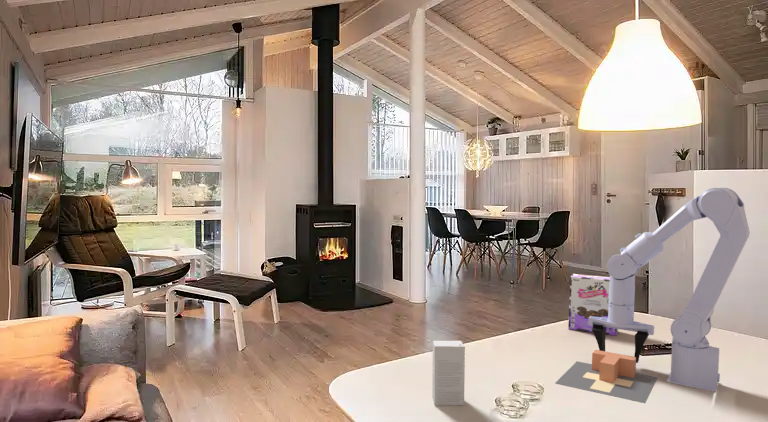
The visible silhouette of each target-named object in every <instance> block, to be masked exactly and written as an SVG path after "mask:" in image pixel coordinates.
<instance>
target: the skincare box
mask: <svg viewBox="0 0 768 422" xmlns="http://www.w3.org/2000/svg"><path fill="white" fill-rule="evenodd" d="M465 351H466V346H465V345H464V343H463V341H461V340H432V387H431V389H432V395H431V396H432V401H433V403H434V404H433V405H434V406H436V407H437V406H441V407H442V406H464V405H465V375H466V374H465V371H466V370H465V367H466V365H465V361H466V359H465V358H466V357H465V355H466V353H465Z"/></svg>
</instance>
